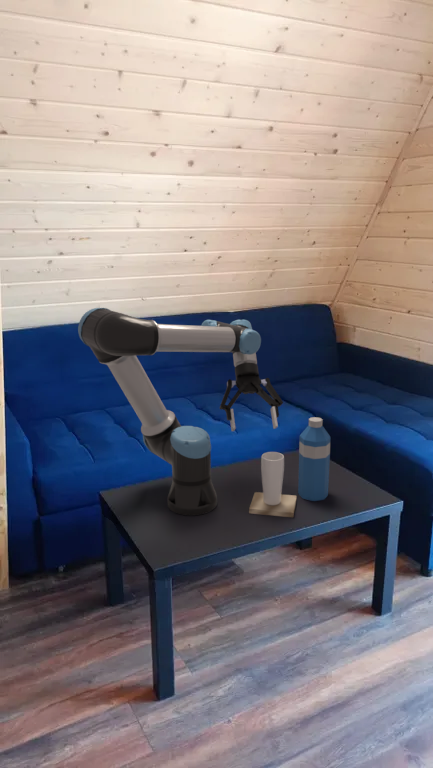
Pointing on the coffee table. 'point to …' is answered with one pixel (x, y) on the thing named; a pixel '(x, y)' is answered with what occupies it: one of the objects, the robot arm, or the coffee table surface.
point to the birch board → (273, 506)
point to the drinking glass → (272, 477)
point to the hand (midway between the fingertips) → (254, 428)
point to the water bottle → (314, 461)
